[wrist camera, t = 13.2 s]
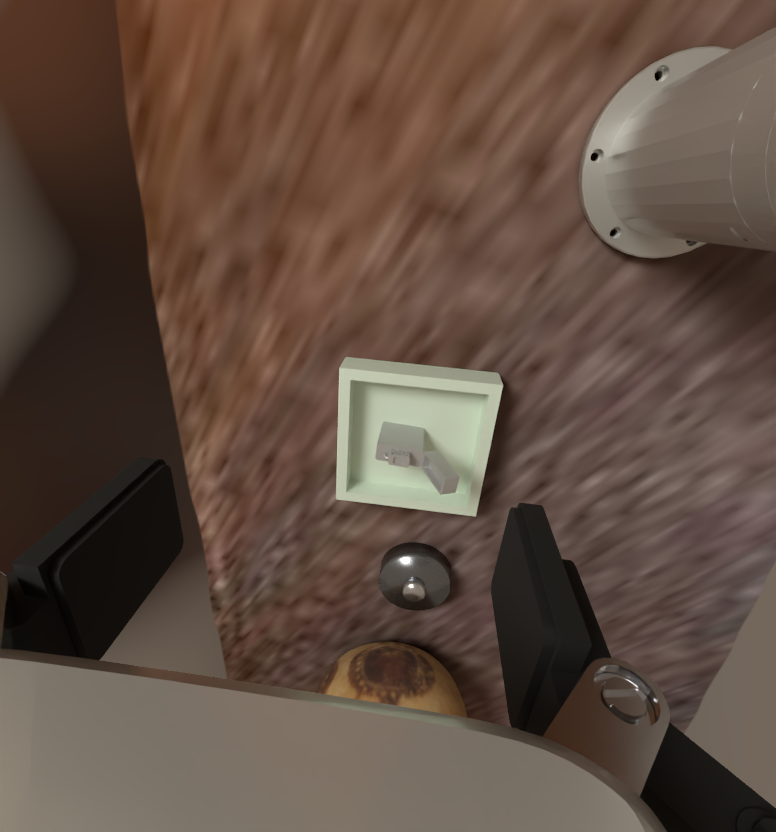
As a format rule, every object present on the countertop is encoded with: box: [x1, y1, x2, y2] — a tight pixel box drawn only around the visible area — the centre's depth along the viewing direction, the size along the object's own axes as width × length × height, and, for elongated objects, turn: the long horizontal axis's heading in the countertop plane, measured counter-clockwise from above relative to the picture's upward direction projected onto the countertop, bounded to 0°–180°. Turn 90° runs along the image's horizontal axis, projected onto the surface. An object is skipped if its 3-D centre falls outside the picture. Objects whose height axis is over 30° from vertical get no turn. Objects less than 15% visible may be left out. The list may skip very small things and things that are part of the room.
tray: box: [336, 357, 503, 517], centre depth 41 cm, size 14×14×3 cm
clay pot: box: [316, 642, 468, 718], centre depth 50 cm, size 19×19×20 cm
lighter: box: [375, 421, 459, 495], centre depth 38 cm, size 7×2×8 cm, turn 82°
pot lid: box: [379, 543, 450, 610], centre depth 48 cm, size 8×8×4 cm
